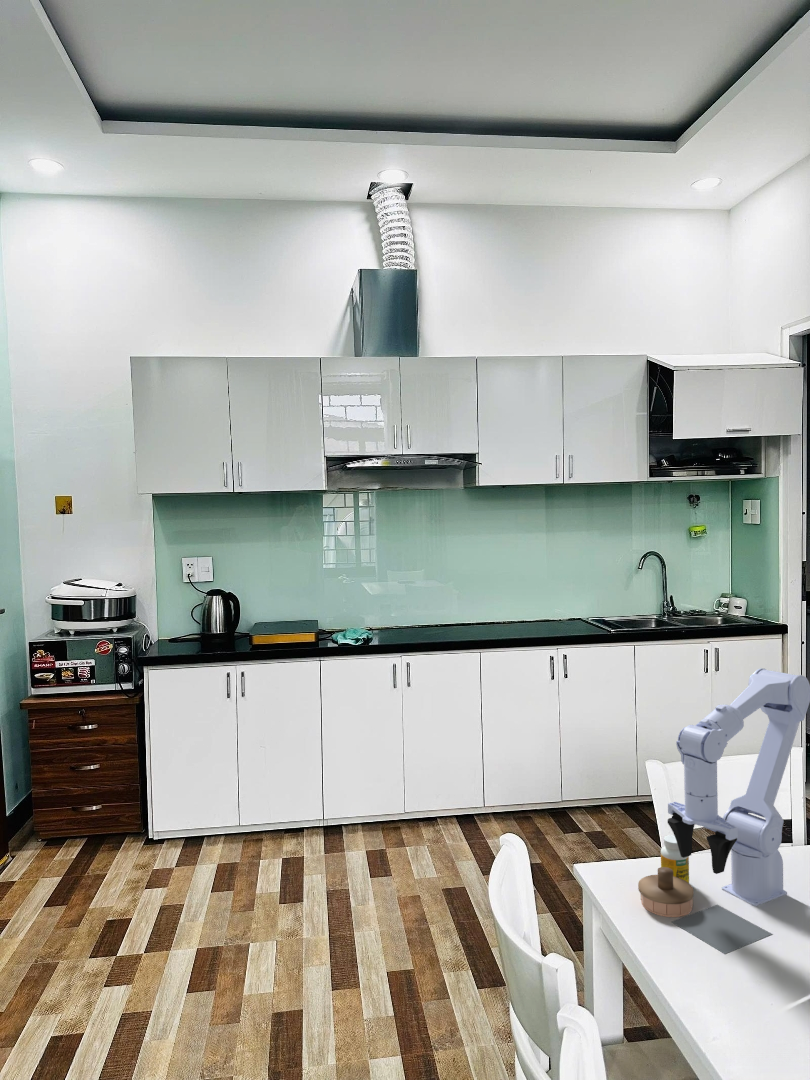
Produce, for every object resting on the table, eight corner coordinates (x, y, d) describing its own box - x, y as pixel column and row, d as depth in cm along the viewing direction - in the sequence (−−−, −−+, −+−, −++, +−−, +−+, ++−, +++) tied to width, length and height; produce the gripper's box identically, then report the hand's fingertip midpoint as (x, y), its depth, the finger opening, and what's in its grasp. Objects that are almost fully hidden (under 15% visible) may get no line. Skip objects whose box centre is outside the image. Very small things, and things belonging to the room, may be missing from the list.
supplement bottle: (672, 876, 163) (672, 830, 162) (695, 886, 158) (694, 839, 158) (655, 884, 160) (654, 837, 159) (677, 894, 155) (676, 846, 155)
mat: (717, 906, 150) (717, 904, 150) (772, 936, 140) (772, 934, 140) (671, 923, 145) (671, 921, 145) (724, 956, 134) (724, 953, 134)
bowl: (666, 890, 157) (665, 875, 157) (702, 910, 149) (702, 894, 149) (631, 902, 153) (630, 886, 153) (667, 923, 145) (666, 907, 145)
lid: (666, 874, 158) (666, 854, 157) (705, 896, 149) (705, 875, 148) (627, 886, 153) (626, 865, 153) (664, 909, 144) (664, 887, 144)
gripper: (655, 784, 151) (656, 853, 151) (717, 808, 138) (718, 885, 139) (682, 777, 154) (683, 845, 155) (745, 800, 141) (746, 875, 142)
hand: (701, 863), depth 147 cm, fingers open, 7 cm apart
